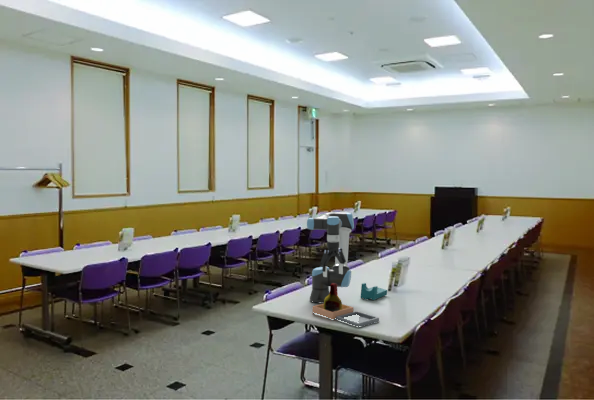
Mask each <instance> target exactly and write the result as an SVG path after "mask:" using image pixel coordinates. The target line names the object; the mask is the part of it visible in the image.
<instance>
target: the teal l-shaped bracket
mask: <svg viewBox="0 0 594 400" xmlns="http://www.w3.org/2000/svg"><path fill="white" fill-rule="evenodd" d="M360 289H361V290H360V299H362V298H364V299H363V300H366V299H368V300H373V301H376V300H377V299H379V298H383V297H385V296H387V295H388V289H385V288H380V287H378V285H374V286H372V287H369V288H368V286H367V282H362V283H361V287H360Z"/></svg>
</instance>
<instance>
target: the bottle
mask: <svg viewBox="0 0 594 400" xmlns="http://www.w3.org/2000/svg"><path fill="white" fill-rule="evenodd" d="M329 292H330V293H329V295H328V296H327V297H326V298H325V299H324V303H323V304H324V309H325V310H328V311H331V312H334V311H338V310H342V304H343V301H342V299H341V298H340V297H339V295H338V287H337V284H336V283H332V284H331V285H330V286H329Z"/></svg>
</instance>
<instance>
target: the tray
mask: <svg viewBox="0 0 594 400" xmlns="http://www.w3.org/2000/svg"><path fill="white" fill-rule="evenodd" d="M356 314H357V315H359V316H360V317H359V321H358V322H359V323H357V322H354V321H350V320H347V319H344V317H348V316H352V315H356ZM336 319H338V320H341V321H344V322H347V323H349V324H352V325H355V326H358V327H359V326H363V327H365V326H364V325H367V326H369V325H368V324H370V325H372V324H371V323H373V324H375V323H374V322H377V323H379V322H380V317H378V316H375V315H373V314H372V315H371V314H368V313H365V312H361V311H358V310H356V311H353V312H351V313H347V314H344V315H340V316H336ZM378 321H379V322H378Z"/></svg>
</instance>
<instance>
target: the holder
mask: <svg viewBox="0 0 594 400" xmlns="http://www.w3.org/2000/svg"><path fill="white" fill-rule="evenodd" d="M313 312H314V313H317V314H320V315H323V316H326V317H328V318H331V319H335V318H336V316H340V315H344V314H347V313H351V312H354V306H350V305H347V304H344V303H342V310H338V311H334V312H331V311H328V310H325V309H324V303H319V304H316V305H313V306H312V313H313Z"/></svg>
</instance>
